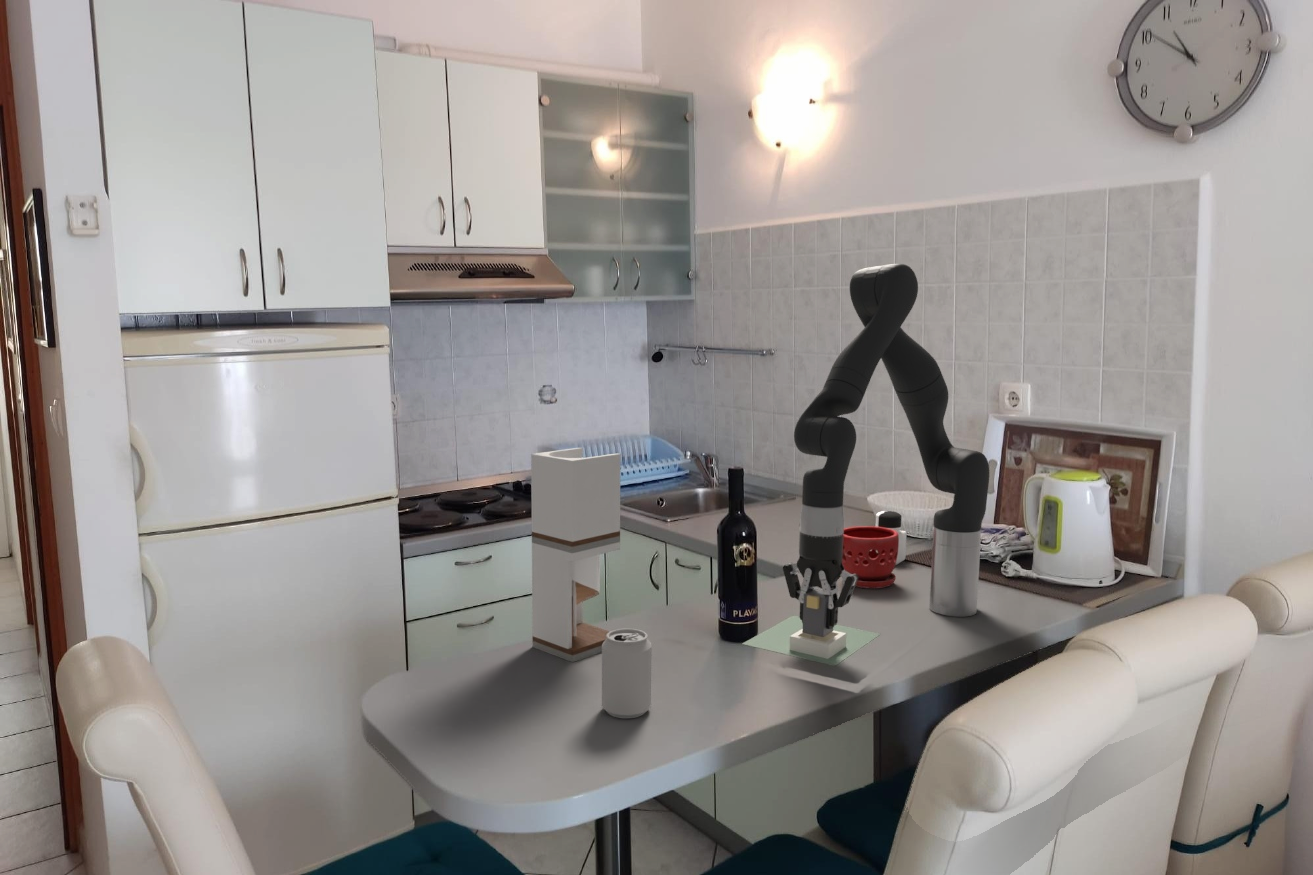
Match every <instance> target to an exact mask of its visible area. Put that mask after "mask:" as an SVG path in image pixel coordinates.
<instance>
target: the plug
mask: <svg viewBox="0 0 1313 875" xmlns="http://www.w3.org/2000/svg"><path fill="white" fill-rule="evenodd" d="M827 608H828V607H827V597H825V596H824V594H823V589H816V588H814V590H811V591H809V592H808V593H805V594H804V602H803V631H802V633H807V634H811V635H816V636H820V637H825V636H826V635H828V634H829V633H831V632H833V628H832V629H827V628H826V614H827Z"/></svg>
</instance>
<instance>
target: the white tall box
mask: <svg viewBox="0 0 1313 875" xmlns="http://www.w3.org/2000/svg"><path fill="white" fill-rule="evenodd" d="M583 452H584V448H583V447H574V448H566V449H558V450H552V451H544V452H537V453H536V452H535V453H531V454H530V456H531V457H530V459H531V461H530V462H531V463H530V464H531V465H530V466H531V468H530V470H531V476H530V477H531V478H530V479H531V480H530V481H531V482H530V483H531V490H530V492H531V598H532V599H531V605H532V606H531V610H532V612H531V614H532V616H531V617H532V618H531V619H532V622H531V623H532V624H531V625H532V628H531V629H532V641H531V642H532V643H531V644H532V648H533V649H534V648H535V649H537V650H540V651H541V652H545V653H547V654H550V655H553V656H554V657H555V656H556V657H558V658H561V659H563V660H566V661H569V662H571V663H574V662H577V661H579V660H583V659H586V658H589V657H590V656H594V655H597V654H600V653H602V644H603V642H604V641H605V640H606V639H607V637H606V635H607V633H609V632H610V631H609V630H606V629H603V628H601V627H597V626H595V625H591V624H588V623H585V622H584V619H583V618H584V616H583V614H584V612H583V611H584V610H583V606H584V605H583V603H584V602H585V601H588V600H590V599H592V598H595V597H596V596H599V595H600V560H601V559H600V558H601V557H600V555H603V554H608V553H611V552H616V551H620V550H621V466H622V465H621V464H622V462H621V458H622V456H621V453H617V452H616V453H609V454H603V455H596V456H588V457H583V456H584V455H583V454H584V453H583Z"/></svg>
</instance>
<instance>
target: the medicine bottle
mask: <svg viewBox="0 0 1313 875" xmlns="http://www.w3.org/2000/svg"><path fill="white" fill-rule="evenodd" d="M875 527H884V528H889V529H892V530H895V531H897V532H898V536H899V545H898V556H897V561H896V564H895V566H897V565H898V564H900V563H902V562H904V561H905V559H906V552H907V531H905V530H902V514H901V513H898V512H897V511H891V510H882V511H881V510H880V511H879V512H877V513H876V514H875ZM870 551H872V550H870ZM876 552H877V553H878V551H877V550H876Z"/></svg>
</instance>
